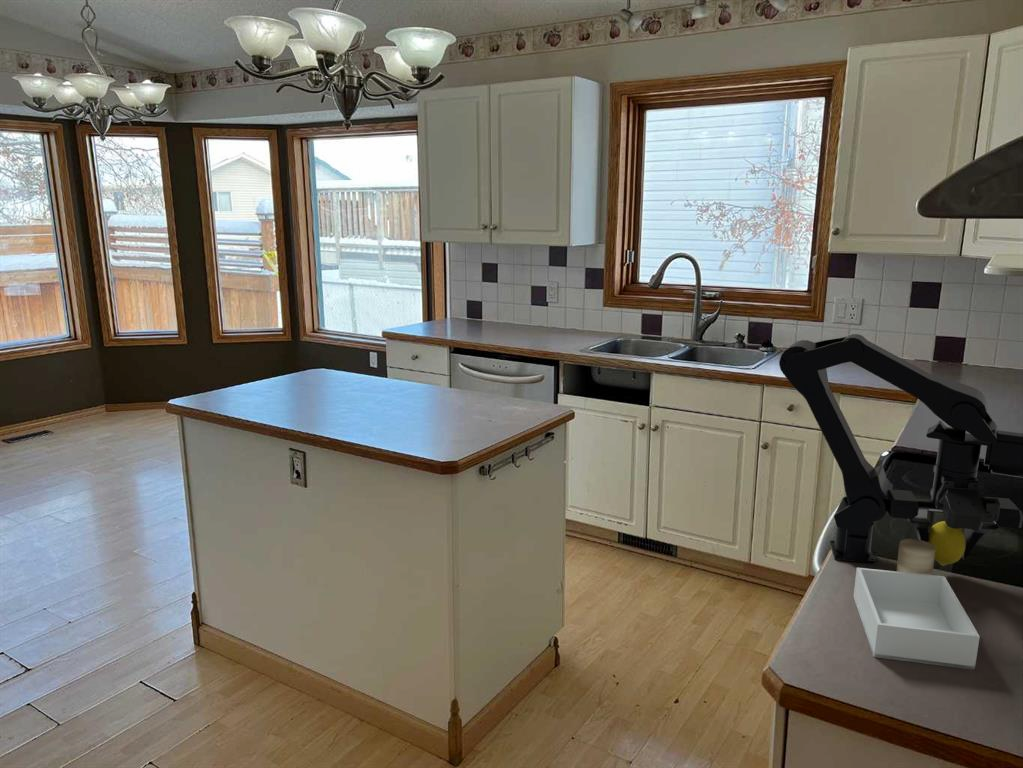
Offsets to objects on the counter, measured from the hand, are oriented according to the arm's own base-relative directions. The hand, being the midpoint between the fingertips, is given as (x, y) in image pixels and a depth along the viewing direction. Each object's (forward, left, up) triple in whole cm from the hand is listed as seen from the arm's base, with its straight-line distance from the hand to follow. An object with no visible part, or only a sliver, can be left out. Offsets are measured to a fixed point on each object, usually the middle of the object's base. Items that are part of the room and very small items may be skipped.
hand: (943, 556), depth 122 cm
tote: (+19, -9, -3) cm, 21 cm away
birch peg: (+6, -5, -3) cm, 8 cm away
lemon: (0, 0, -2) cm, 2 cm away
